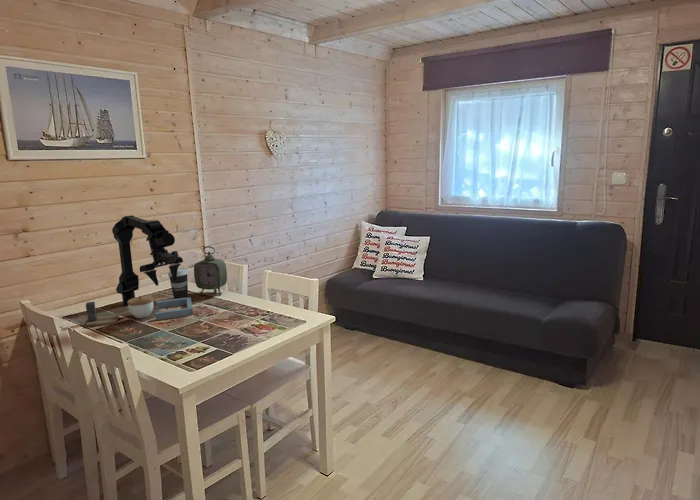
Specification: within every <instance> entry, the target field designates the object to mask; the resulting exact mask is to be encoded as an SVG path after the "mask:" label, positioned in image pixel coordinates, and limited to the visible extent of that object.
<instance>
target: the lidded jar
mask: <svg viewBox="0 0 700 500" xmlns="http://www.w3.org/2000/svg"><path fill="white" fill-rule="evenodd" d="M127 303H128V305H127V306H128V311H129V313H130V314H131V315H132V316H133V317H135V318H136V319H144V318H148V317H149V316H151V313H152V312H153V311H154V297H153V296H151V295H144V296H143V295H139V296H135V298H132V299H130V300H128V301H127Z"/></svg>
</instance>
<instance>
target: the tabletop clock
mask: <svg viewBox="0 0 700 500" xmlns="http://www.w3.org/2000/svg"><path fill="white" fill-rule="evenodd" d="M208 248H209V249H212V250H213V252H210V251H207V252H205V251H204V250H205V249H208ZM202 252H203V254H205V256H204V259H203V260H202V259H201V261H200V260H199V261H198V262H196V263H194V267H193V271H194V272H193V277H194V282H195V285H196V287H197V288H198V289H201V291H199V294H200V295H203V293H204V290H213V292H214V293H217V290H218V296H222V292H221V290H220V288H221V287H223V286H225V285H227V282H228V272H227V271H228V270H227V265H226V261H224V260H223V259H220V258H219V259H218V258H215V256H214V255H213V254H215V253H216V249H215V248H214V247H213V246H209V245H207V246H204V247H203V248H202Z"/></svg>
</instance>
